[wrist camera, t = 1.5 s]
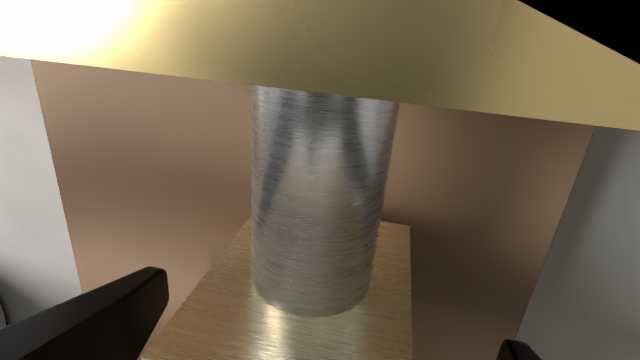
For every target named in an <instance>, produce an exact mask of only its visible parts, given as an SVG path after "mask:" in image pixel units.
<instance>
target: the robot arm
mask: <svg viewBox="0 0 640 360" xmlns="http://www.w3.org/2000/svg"><path fill="white" fill-rule="evenodd" d="M168 302H169V287H168V278H167V272H166V270H164V269H162V268H158V267H153V266H148V267H145V268H143V269H140V270H138V271H135V272H133V273H131V274H128V275H126V276H124V277H121V278H119V279H117V280H114V281H112V282H110V283H107V284H105V285H103V286H100V287H98V288H96V289H93V290H91V291H88V292H86V293H84V294H81V295H79V296H77V297H74V298H72V299H70V300H67V301H65V302H63V303H60V304H58V305H56V306H53V307H51V308H48V309H46V310H44V311H41V312H39V313H37V314H34V315H32V316H30V317H27V318H25V319H23V320H20V321H18V322H16V323H13V324H11V325H8V326H6V327H4V328H1V329H0V360H137V359H138V357H139V356H140V354H141V352H142V350H143V349H144V347H145V345H146V343H147V341H148V339H149V338H150V336H151V334H152V332H153V330H154V329H155V327H156V325H157V323H158V321H159V320H160V318H161V316H162V314H163V312H164V310H165V309H166V307H167V305H168ZM496 360H542V359H541V358H540V357H539V356H538V355H537V354H536V353H535V352H534V351H533V350H532V349H531V348H530V347H529V346H528V345H527V344H526V343H524V342H520V341H515V340H510V339H505V340H504V341H503V342H502V344H501V347H500V349H499V352H498V355H497V358H496Z"/></svg>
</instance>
